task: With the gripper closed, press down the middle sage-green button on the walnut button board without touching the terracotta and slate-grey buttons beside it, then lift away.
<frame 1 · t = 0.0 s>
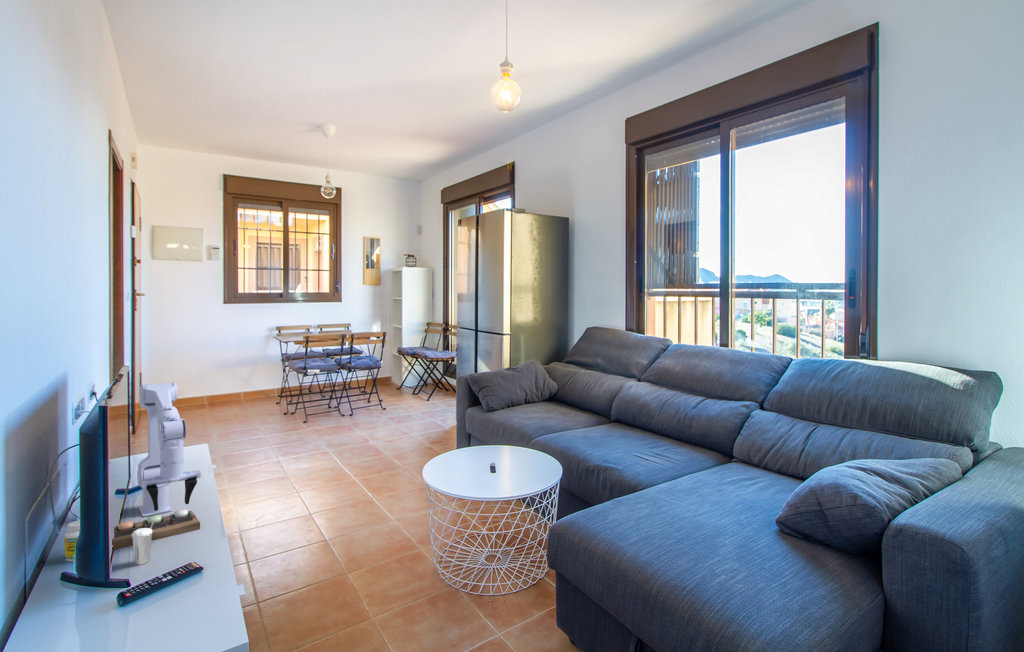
hand: (171, 506, 149), 10 cm above the table, tool pointing down, fingers open, 7 cm apart
terracotta button: (125, 526, 149), point 4 cm above the table, slide at 0.0 cm
sage button: (154, 519, 154), point 4 cm above the table, slide at 0.0 cm
button board: (154, 532, 154), on the table
grey button: (181, 513, 159), point 4 cm above the table, slide at 0.0 cm
supplement bottle: (77, 558, 138), on the table
milkshake: (143, 562, 137), on the table
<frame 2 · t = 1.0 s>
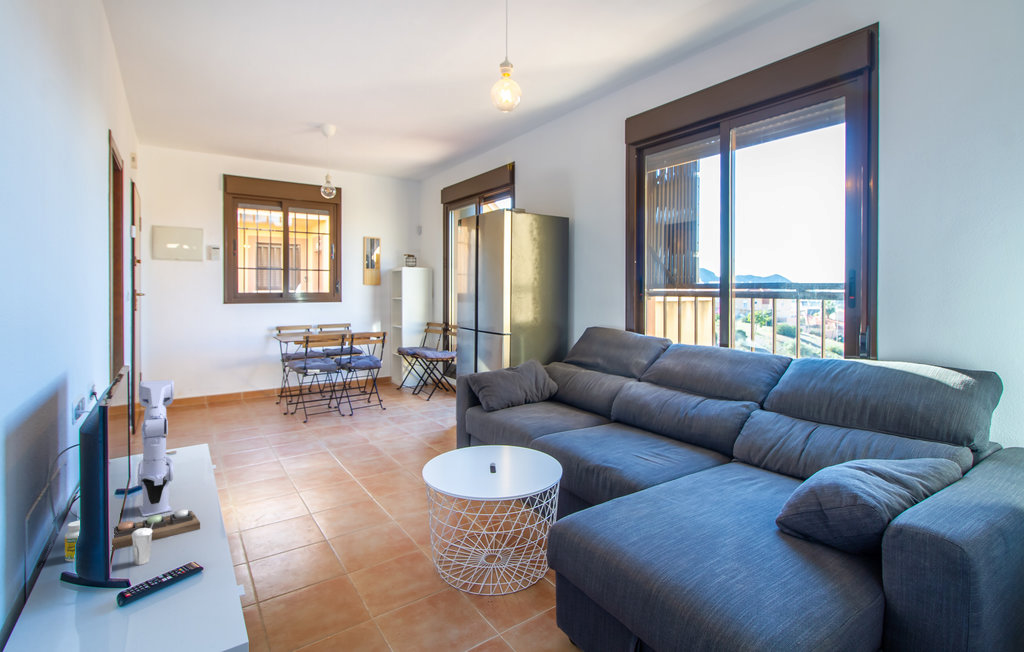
hand: (154, 502, 154), 9 cm above the table, tool pointing down, fingers closed
nothing on the table moved.
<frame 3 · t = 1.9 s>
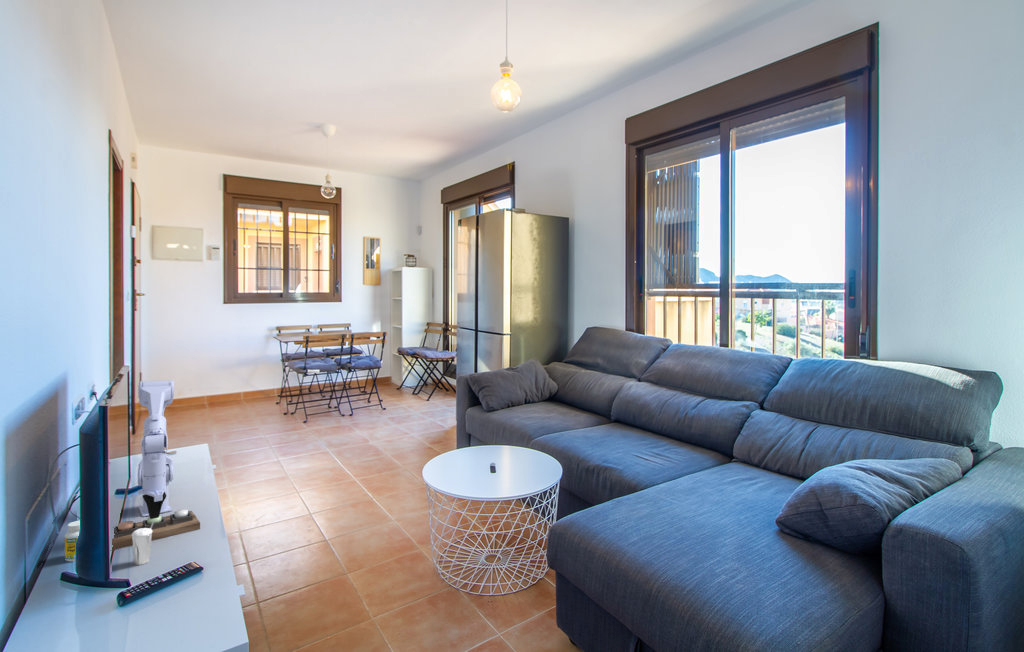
hand: (154, 517, 154), 5 cm above the table, tool pointing down, fingers closed, pressing on sage button
sage button: (154, 520, 154), point 4 cm above the table, slide at 0.1 cm, touching gripper
everything else where it was.
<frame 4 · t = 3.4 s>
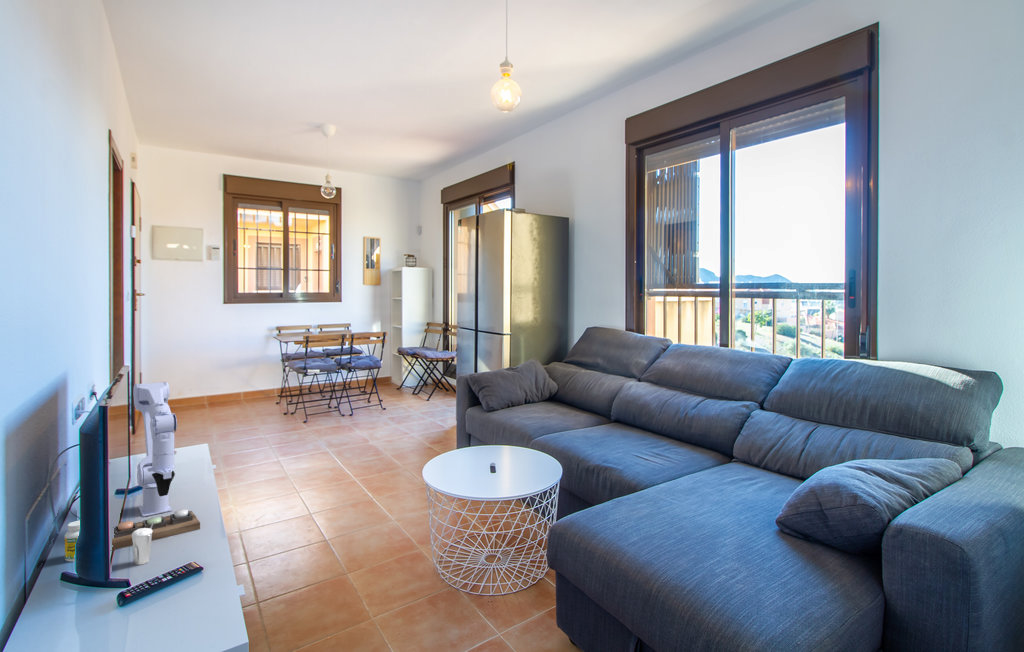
hand: (163, 495, 159), 9 cm above the table, tool pointing down, fingers closed
sage button: (154, 521, 154), point 3 cm above the table, slide at 0.6 cm
everything else where it was.
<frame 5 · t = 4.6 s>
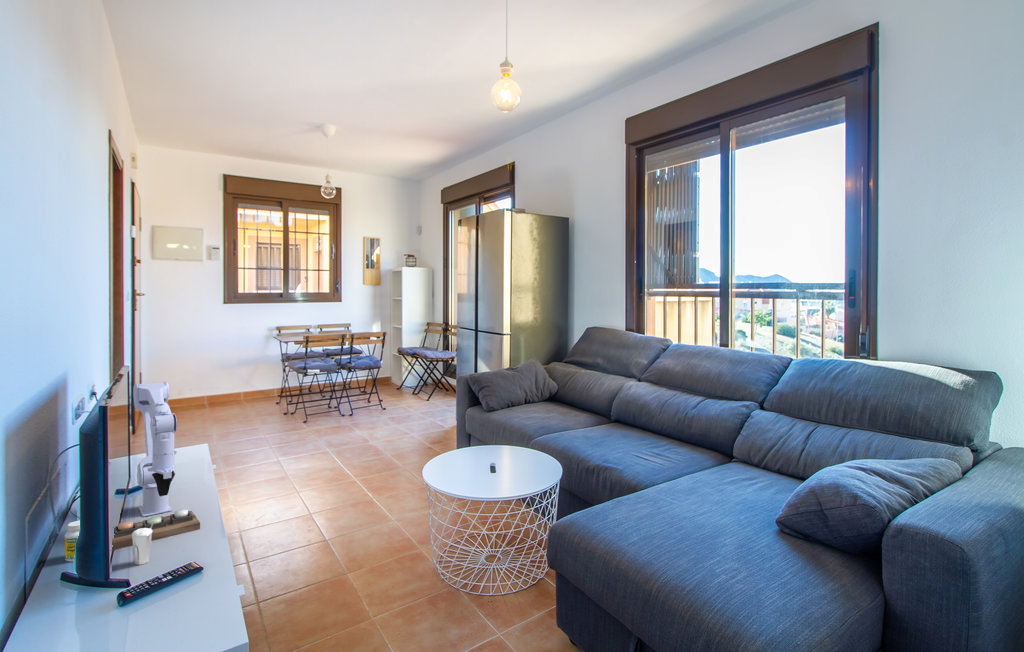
hand: (163, 495, 159), 9 cm above the table, tool pointing down, fingers closed
nothing on the table moved.
at the end: sage button slide at 0.6 cm; terracotta button slide at 0.0 cm; grey button slide at 0.0 cm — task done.
